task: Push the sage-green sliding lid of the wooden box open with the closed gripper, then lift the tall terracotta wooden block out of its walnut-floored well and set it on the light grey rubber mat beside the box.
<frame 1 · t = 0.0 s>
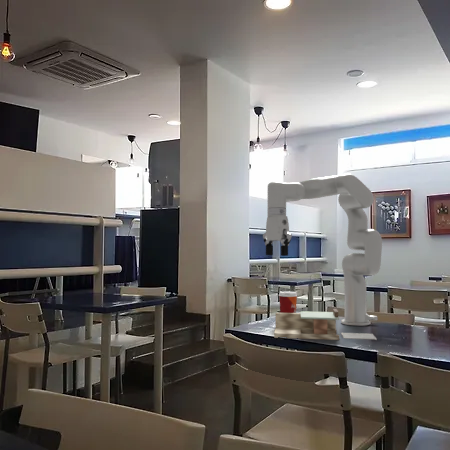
hand: (276, 255, 188), 31 cm above the table, tool pointing down, fingers open, 9 cm apart
grey mat: (358, 337, 181), on the table
coffee cup: (288, 327, 202), on the table
terracotta block: (320, 336, 181), resting on wooden box
sliding lid: (318, 312, 183), point 9 cm above the table, slide at 0.0 cm
wooden box: (305, 335, 184), on the table
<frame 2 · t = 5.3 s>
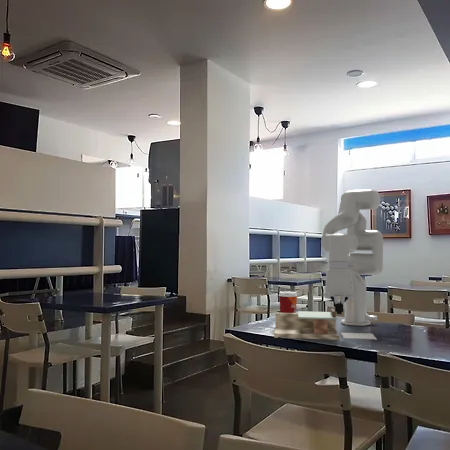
hand: (339, 313, 180), 9 cm above the table, tool pointing down, fingers closed
sliding lid: (316, 312, 183), point 9 cm above the table, slide at 0.9 cm, touching gripper
everything else where it was.
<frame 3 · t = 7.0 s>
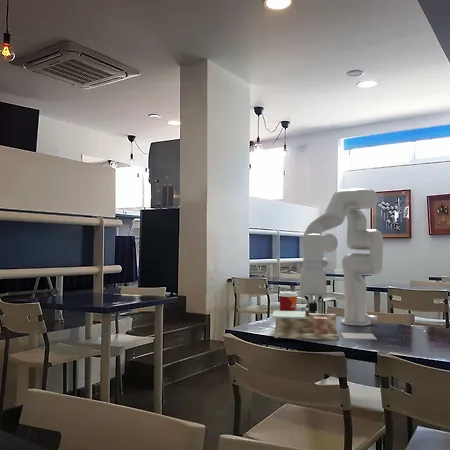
hand: (313, 313, 182), 9 cm above the table, tool pointing down, fingers closed
sliding lid: (290, 312, 184), point 9 cm above the table, slide at 10.8 cm, touching gripper
everything else where it was.
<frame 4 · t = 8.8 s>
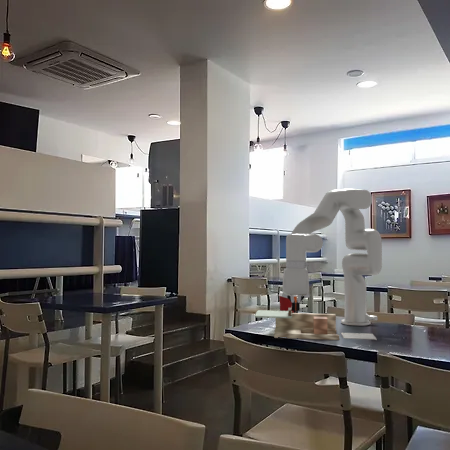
hand: (295, 312, 183), 9 cm above the table, tool pointing down, fingers closed
sliding lid: (273, 311, 185), point 9 cm above the table, slide at 17.4 cm, touching gripper
everything else where it was.
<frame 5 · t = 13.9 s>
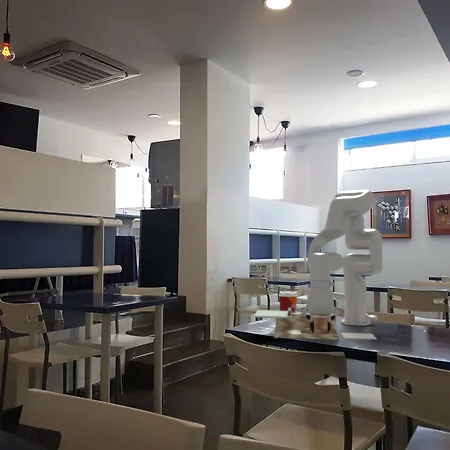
hand: (320, 331, 181), 2 cm above the table, tool pointing down, fingers closed on terracotta block, 5 cm apart
terracotta block: (320, 336, 181), resting on wooden box, touching gripper
sliding lid: (273, 311, 185), point 9 cm above the table, slide at 17.6 cm
everything else where it was.
when the fingers open (4 cm above the table, at t = 20.0 s): terracotta block drops 1 cm, resting on grey mat.
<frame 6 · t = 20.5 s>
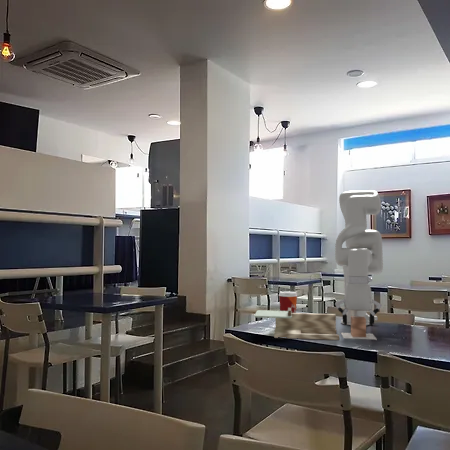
hand: (358, 325, 181), 5 cm above the table, tool pointing down, fingers open, 9 cm apart
terracotta block: (358, 335, 181), point 1 cm above the table, touching grey mat
everything else where it was.
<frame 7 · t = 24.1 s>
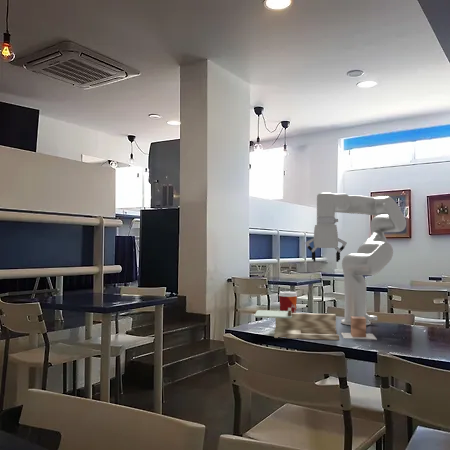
hand: (325, 261, 200), 28 cm above the table, tool pointing down, fingers open, 9 cm apart
nothing on the table moved.
at the end: sliding lid slide at 17.6 cm; terracotta block inside the target area (0.0 cm from its centre), point 0.6 cm above the table; terracotta block tilted 0° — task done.
